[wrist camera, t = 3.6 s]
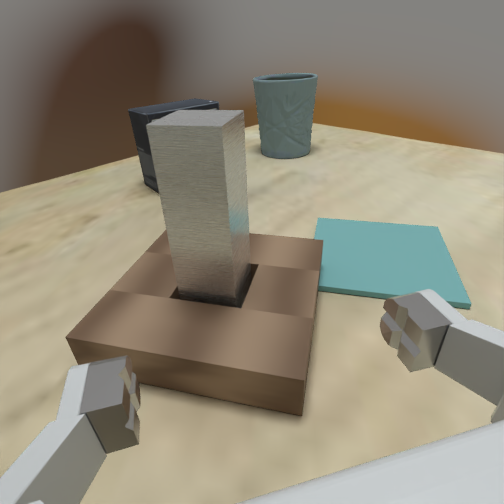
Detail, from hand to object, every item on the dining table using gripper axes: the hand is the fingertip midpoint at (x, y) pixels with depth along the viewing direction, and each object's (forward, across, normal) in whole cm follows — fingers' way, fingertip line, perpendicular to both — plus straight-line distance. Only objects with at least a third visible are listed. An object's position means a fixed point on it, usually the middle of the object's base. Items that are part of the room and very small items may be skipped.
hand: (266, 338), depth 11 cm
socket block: (+12, 0, +10) cm, 16 cm away
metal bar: (+12, 0, +10) cm, 16 cm away
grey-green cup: (+50, -18, +10) cm, 54 cm away
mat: (+15, -15, +10) cm, 24 cm away
